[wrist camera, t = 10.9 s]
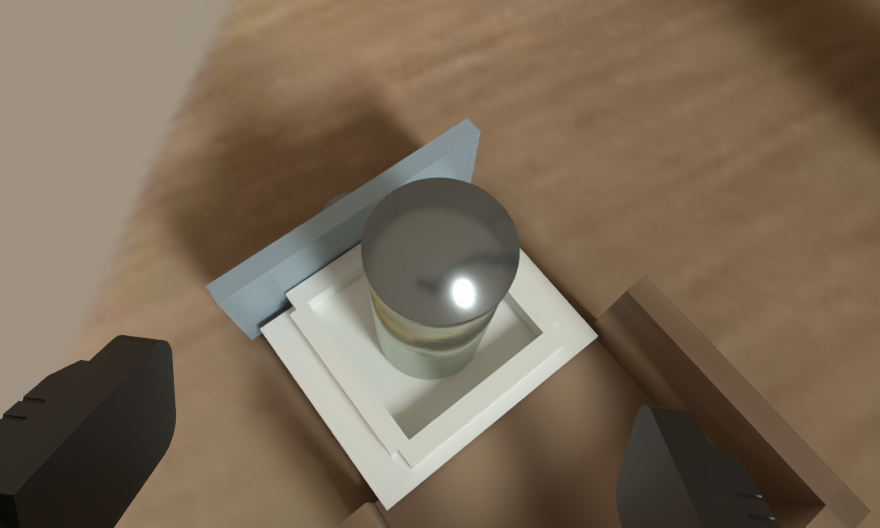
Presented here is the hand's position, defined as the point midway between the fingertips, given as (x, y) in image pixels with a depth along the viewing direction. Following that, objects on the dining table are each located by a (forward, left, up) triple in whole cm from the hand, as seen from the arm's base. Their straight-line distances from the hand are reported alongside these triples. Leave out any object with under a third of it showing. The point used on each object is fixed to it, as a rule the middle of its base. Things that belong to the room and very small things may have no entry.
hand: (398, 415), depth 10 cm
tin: (-5, -5, -18) cm, 19 cm away
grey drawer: (-5, -6, -20) cm, 21 cm away
